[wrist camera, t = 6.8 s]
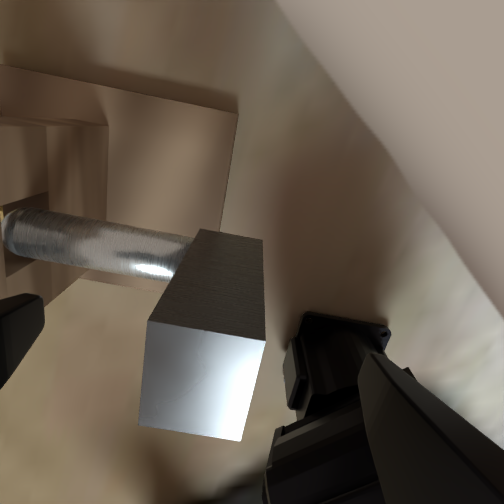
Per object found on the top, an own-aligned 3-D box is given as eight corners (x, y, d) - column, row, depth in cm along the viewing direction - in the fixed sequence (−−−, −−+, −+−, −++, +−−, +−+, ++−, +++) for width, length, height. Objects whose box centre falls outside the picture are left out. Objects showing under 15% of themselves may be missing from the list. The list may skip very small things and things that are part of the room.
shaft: (262, 232, 14) (265, 341, 7) (248, 293, 15) (240, 441, 8) (19, 185, 13) (-244, 252, 6) (24, 252, 14) (-198, 372, 7)
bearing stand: (238, 114, 19) (218, 103, 9) (208, 295, 23) (174, 411, 14) (7, 65, 18) (-263, 1, 9) (21, 261, 22) (-149, 359, 13)
